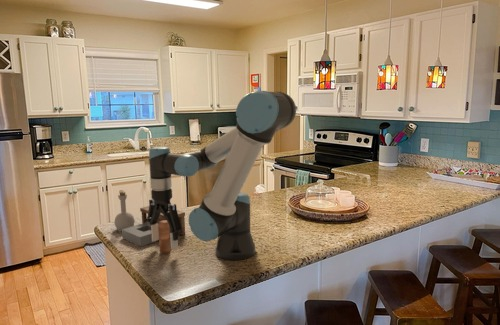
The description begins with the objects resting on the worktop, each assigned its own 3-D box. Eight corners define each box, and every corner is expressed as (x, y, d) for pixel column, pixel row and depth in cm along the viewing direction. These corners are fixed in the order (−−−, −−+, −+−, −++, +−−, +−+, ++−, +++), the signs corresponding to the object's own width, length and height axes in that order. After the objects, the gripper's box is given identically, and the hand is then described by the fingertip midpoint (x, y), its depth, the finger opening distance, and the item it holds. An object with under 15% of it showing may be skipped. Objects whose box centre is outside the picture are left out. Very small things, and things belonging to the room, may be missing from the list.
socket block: (169, 236, 156) (169, 227, 156) (140, 246, 146) (140, 237, 145) (150, 229, 165) (150, 221, 165) (122, 238, 155) (121, 229, 154)
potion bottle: (128, 224, 173) (125, 187, 170) (138, 228, 167) (136, 190, 164) (110, 229, 166) (107, 191, 163) (121, 233, 161) (118, 194, 158)
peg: (172, 251, 141) (171, 221, 139) (164, 255, 138) (162, 224, 136) (166, 249, 143) (164, 219, 141) (157, 252, 140) (155, 222, 138)
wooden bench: (186, 234, 158) (184, 212, 157) (169, 240, 152) (168, 217, 151) (157, 224, 172) (156, 203, 171) (141, 229, 166) (140, 208, 164)
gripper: (190, 191, 131) (192, 248, 135) (151, 182, 147) (154, 234, 150) (172, 195, 126) (176, 255, 129) (135, 185, 141) (138, 239, 145)
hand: (164, 244), depth 140 cm, fingers open, 11 cm apart
